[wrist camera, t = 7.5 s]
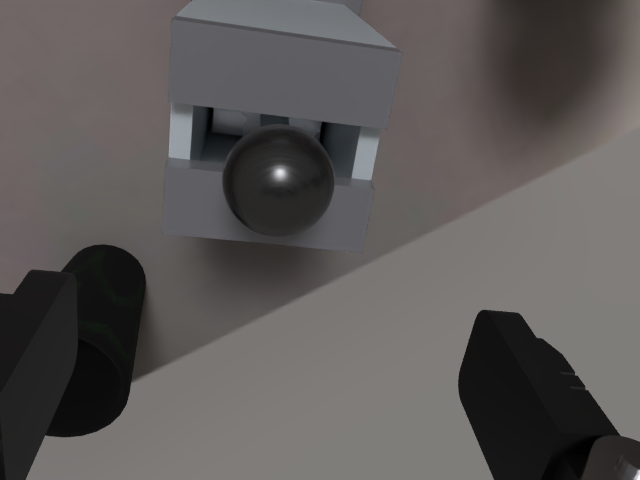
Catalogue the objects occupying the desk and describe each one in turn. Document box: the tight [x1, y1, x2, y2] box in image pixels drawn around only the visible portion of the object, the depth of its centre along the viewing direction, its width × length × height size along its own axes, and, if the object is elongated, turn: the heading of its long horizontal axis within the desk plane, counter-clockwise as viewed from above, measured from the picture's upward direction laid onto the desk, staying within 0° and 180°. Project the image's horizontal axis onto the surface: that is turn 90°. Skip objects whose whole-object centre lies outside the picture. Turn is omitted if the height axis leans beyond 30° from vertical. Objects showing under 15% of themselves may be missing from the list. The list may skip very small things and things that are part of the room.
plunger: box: [212, 108, 335, 237], centre depth 26 cm, size 6×6×17 cm
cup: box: [45, 245, 146, 437], centre depth 39 cm, size 8×8×12 cm
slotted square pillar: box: [162, 0, 402, 253], centre depth 31 cm, size 10×10×18 cm
